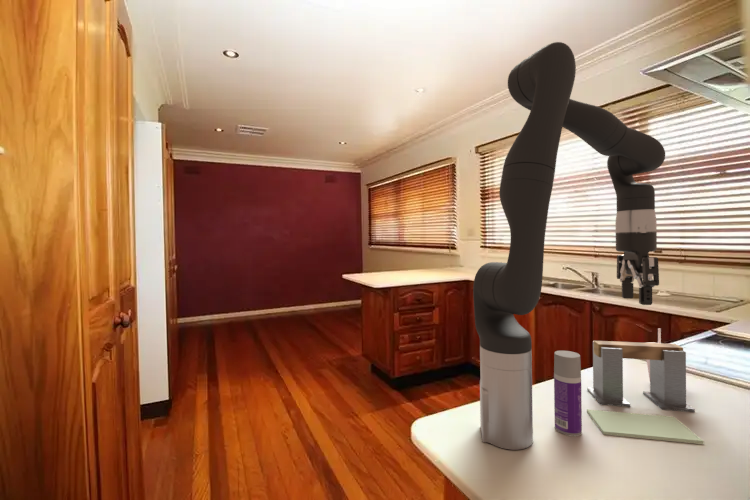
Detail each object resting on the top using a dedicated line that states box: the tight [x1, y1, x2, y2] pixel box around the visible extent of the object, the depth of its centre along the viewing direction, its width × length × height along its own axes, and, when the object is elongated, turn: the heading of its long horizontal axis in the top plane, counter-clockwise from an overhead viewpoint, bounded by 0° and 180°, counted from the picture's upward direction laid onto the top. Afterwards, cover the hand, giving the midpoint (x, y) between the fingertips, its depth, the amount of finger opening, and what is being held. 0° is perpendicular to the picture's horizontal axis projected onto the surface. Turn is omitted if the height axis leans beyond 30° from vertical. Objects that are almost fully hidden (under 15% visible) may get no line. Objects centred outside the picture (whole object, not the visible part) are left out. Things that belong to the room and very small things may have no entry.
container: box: [553, 350, 583, 437], centre depth 68 cm, size 5×5×15 cm
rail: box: [593, 340, 684, 361], centre depth 80 cm, size 17×3×3 cm, turn 76°
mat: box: [586, 409, 705, 445], centre depth 69 cm, size 16×9×1 cm, turn 76°
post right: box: [642, 350, 696, 413], centre depth 79 cm, size 6×8×12 cm
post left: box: [586, 340, 631, 408], centre depth 82 cm, size 6×8×12 cm
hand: (636, 301), depth 80 cm, fingers open, 8 cm apart
